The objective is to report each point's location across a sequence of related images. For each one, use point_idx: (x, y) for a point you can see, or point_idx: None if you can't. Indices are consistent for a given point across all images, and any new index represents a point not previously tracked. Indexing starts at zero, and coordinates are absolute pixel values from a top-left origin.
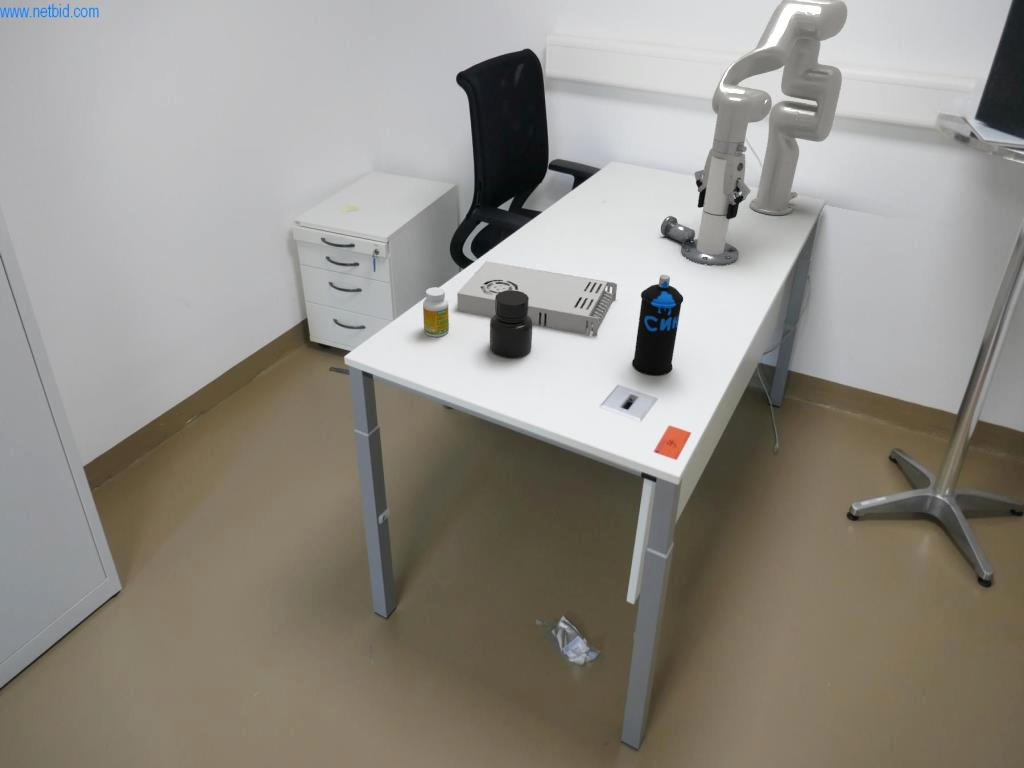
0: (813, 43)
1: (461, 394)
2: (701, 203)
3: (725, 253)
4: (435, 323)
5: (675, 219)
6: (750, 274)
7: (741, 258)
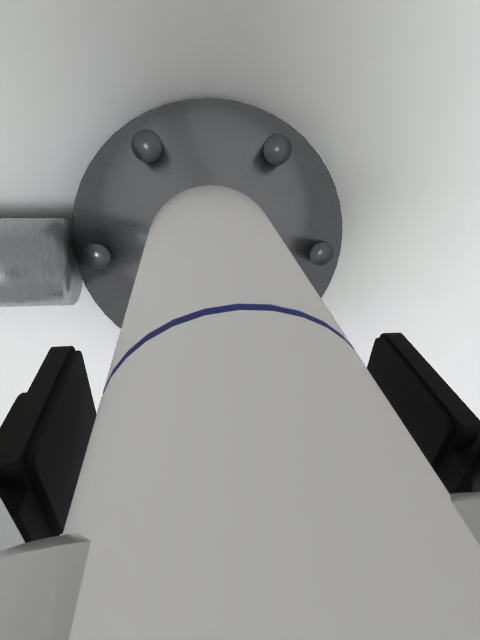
0: None
1: None
2: (87, 438)
3: (284, 224)
4: None
5: None
6: (433, 258)
7: (336, 155)
